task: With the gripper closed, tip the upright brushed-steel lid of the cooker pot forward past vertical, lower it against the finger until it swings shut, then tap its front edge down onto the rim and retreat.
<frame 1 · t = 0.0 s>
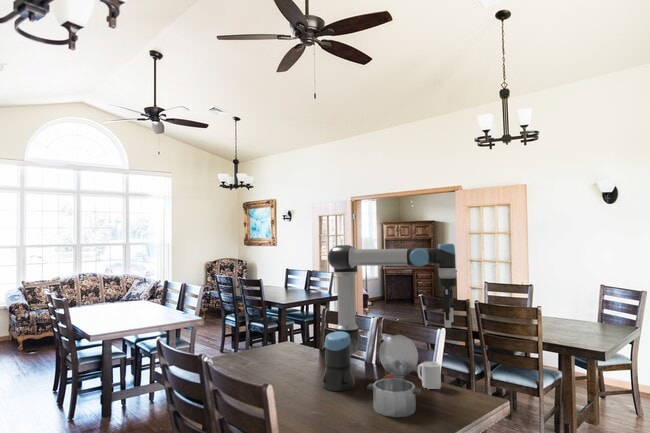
hand: (449, 324, 187), 28 cm above the table, fingers open, 13 cm apart
burger: (393, 386, 189), on the table
pot: (394, 408, 163), on the table
cup: (428, 386, 188), on the table
lid: (398, 355, 174), point 18 cm above the table, hinge at 100.0°
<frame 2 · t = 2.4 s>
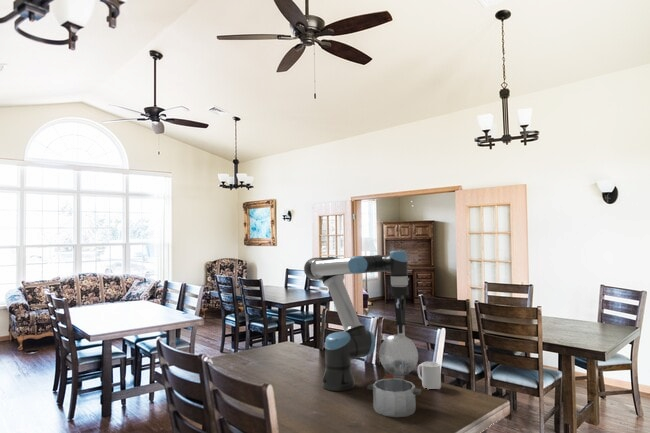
hand: (401, 340, 179), 23 cm above the table, fingers closed
nothing on the table moved.
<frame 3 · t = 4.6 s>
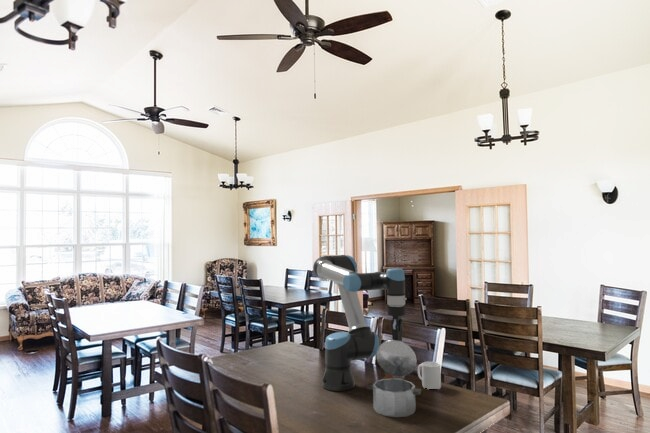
hand: (398, 362, 172), 15 cm above the table, fingers closed
lid: (396, 358, 170), point 18 cm above the table, hinge at 71.8°, touching gripper
everything else where it was.
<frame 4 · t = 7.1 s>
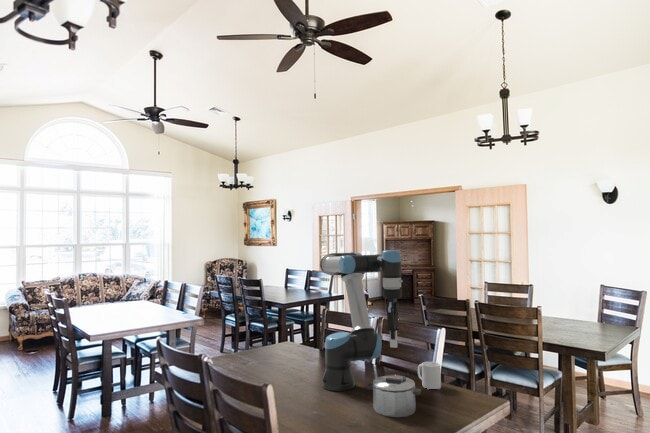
hand: (393, 347, 166), 23 cm above the table, fingers closed
lid: (393, 381, 164), point 10 cm above the table, hinge at -0.2°
everything else where it was.
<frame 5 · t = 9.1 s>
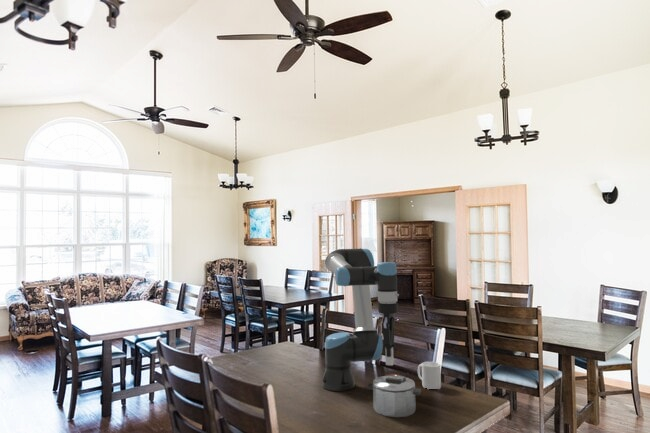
hand: (389, 364, 157), 19 cm above the table, fingers closed
nothing on the table moved.
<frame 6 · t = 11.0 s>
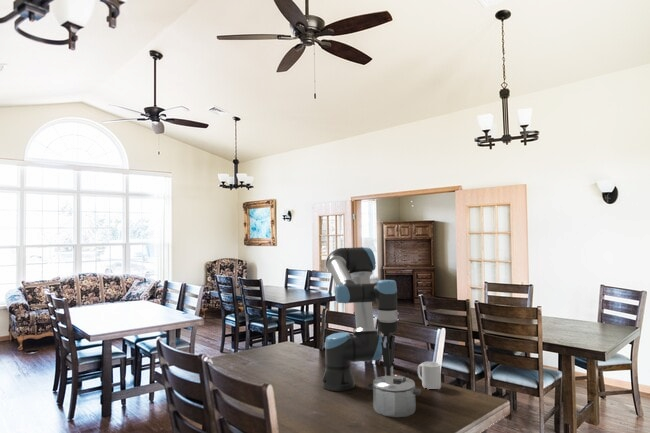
hand: (389, 383, 157), 12 cm above the table, fingers closed
nothing on the table moved.
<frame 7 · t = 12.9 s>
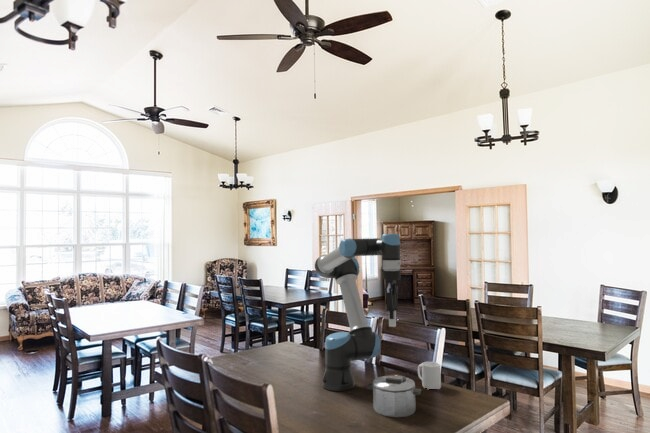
hand: (392, 326, 174), 30 cm above the table, fingers closed
nothing on the table moved.
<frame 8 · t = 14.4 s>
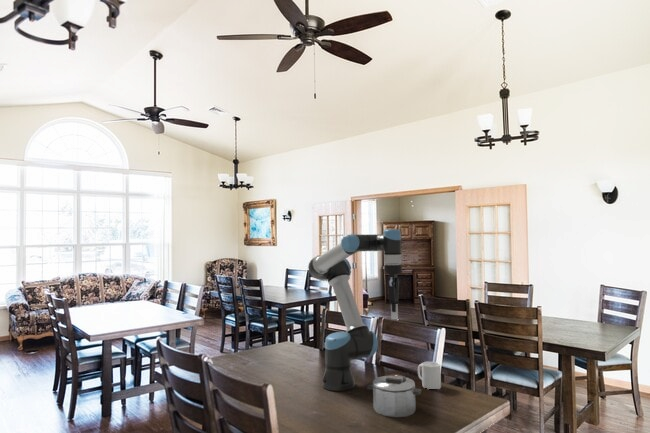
hand: (394, 319, 179), 32 cm above the table, fingers closed
at the end: lid at +0° (first picture: +100°) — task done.
